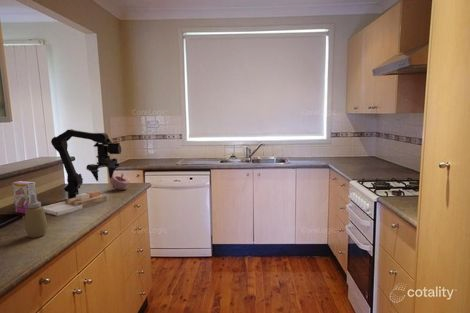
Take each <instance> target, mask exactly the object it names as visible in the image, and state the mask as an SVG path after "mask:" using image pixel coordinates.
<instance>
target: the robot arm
mask: <svg viewBox="0 0 470 313" xmlns="http://www.w3.org/2000/svg"><path fill="white" fill-rule="evenodd" d="M72 137H73V138H78V139H83V140H84V139H86V140H90V141H93V142H95V144H94V145H93V147H95V148H97V149H96V150H97V155H95V157H96V159H97V162H96V163H95V164H94V163H93V164H92V163H89V164H87V165H86V170H87V171H89V172H90V173H91V174H92V175H93V177H94V179H95V181H96V182H99V169H100V168H107V170H108V176H109V179H111V178H112V176H113V175H114V172H115V170H116V169H117V168H118V167H120V162H119V161H118V159H117V158H116V157H115V158H112V159H111V157H110V155H121V154H122V147H121V143H120V142H112V140H111V139H110V137H109V135H108V134H107V133H106V132H90V131H89V132H87V131H81V130H77V129H76V130H75V129H72V128H70V129H67V130H65V131H64V132H62V133H61V134H58V135H57V136H54V137H53V138H51V141H50V143H51V145H52V147H53V148H54V149H55V151H57V152H58V155H59V157H60V159H61V162H62V164H63V166H64V169H65V172H66V174H67V180H66V181H67V185H66V186H64V187H63V190H64V192H67V193H66V195H67V198H66V199H65V200H64V201H67V199H71V198H75V197H76V195H78V194H80V193H79V189H80V188H81V186H82V184H83V182H84V178H83V177H82V174H81V173H79V174H78V173H77V171H76V168H75V166H74V164H73V161H72V158H71V156H70V153H69V150H68V146H69V145H68V141H69V140H70V139H71V138H72ZM109 154H110V155H109Z"/></svg>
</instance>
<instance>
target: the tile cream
mask: <svg viewBox="0 0 470 313" xmlns="http://www.w3.org/2000/svg"><path fill="white" fill-rule="evenodd" d="M76 199H77V200H85V199H89V194H87V192H83V193H79V194H78V195H76Z"/></svg>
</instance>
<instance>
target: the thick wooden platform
mask: <svg viewBox="0 0 470 313" xmlns="http://www.w3.org/2000/svg"><path fill="white" fill-rule="evenodd" d="M66 199H67V200H66V204H69V205H73V206H79V205H82V209H84V208H87V207H90V206H96V205H98V204H101V203H105V202H107V195H103V194H100V196H96V197H93V198H92V197H89V199H85V200H77V199H76V197H75V198H71V199H68V198H66Z"/></svg>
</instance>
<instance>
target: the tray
mask: <svg viewBox="0 0 470 313" xmlns="http://www.w3.org/2000/svg"><path fill="white" fill-rule="evenodd" d="M42 207H43V208H44V212H45V214H48V215H52V216H53V215H54V216H57V217H58V216H62V215H65V214H69V213H72V212H75V211H79V210H82V209H83V208H82V205H79V206H73V205H69V204H67V200H64V201H61V202H60V201H59V202H57V203H53V204H49V205H48V204H47V205H44V206H42Z"/></svg>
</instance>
